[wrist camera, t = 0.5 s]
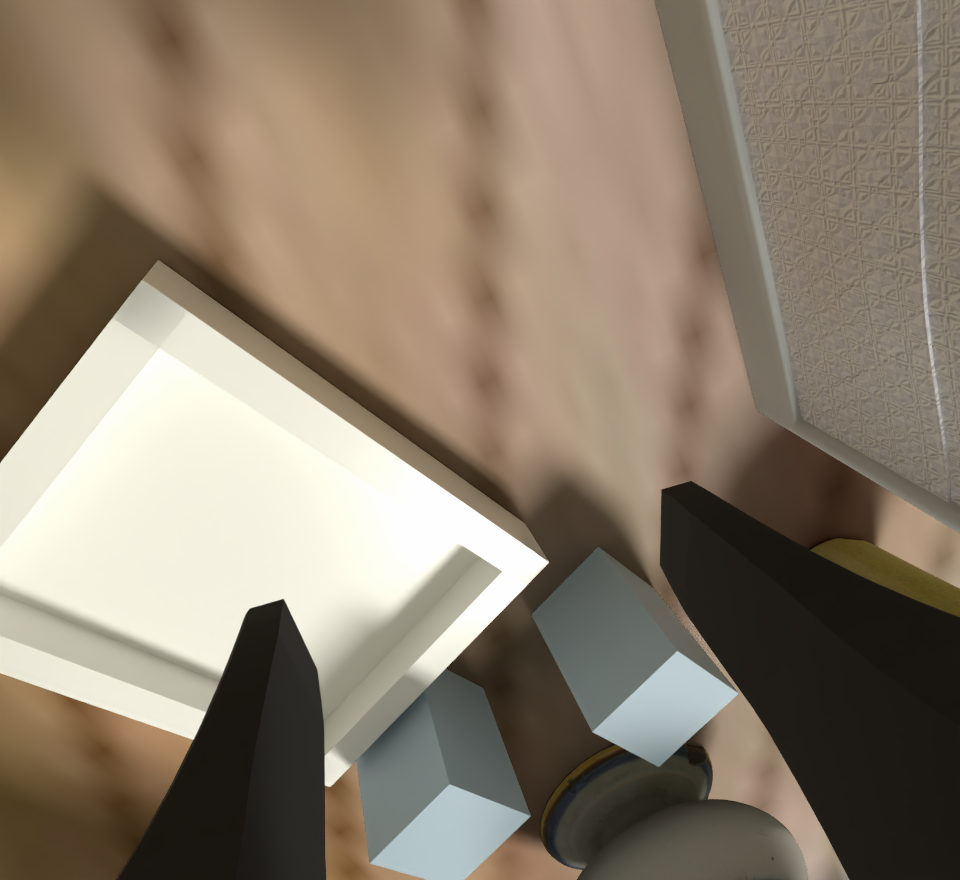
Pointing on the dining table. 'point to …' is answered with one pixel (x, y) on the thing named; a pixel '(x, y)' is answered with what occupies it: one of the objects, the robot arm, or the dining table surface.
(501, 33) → the dining table surface
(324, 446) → the tray
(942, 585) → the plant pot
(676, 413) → the dining table surface
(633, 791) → the apothecary jar
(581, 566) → the block
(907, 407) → the red striped block
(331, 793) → the dining table surface
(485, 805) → the block
